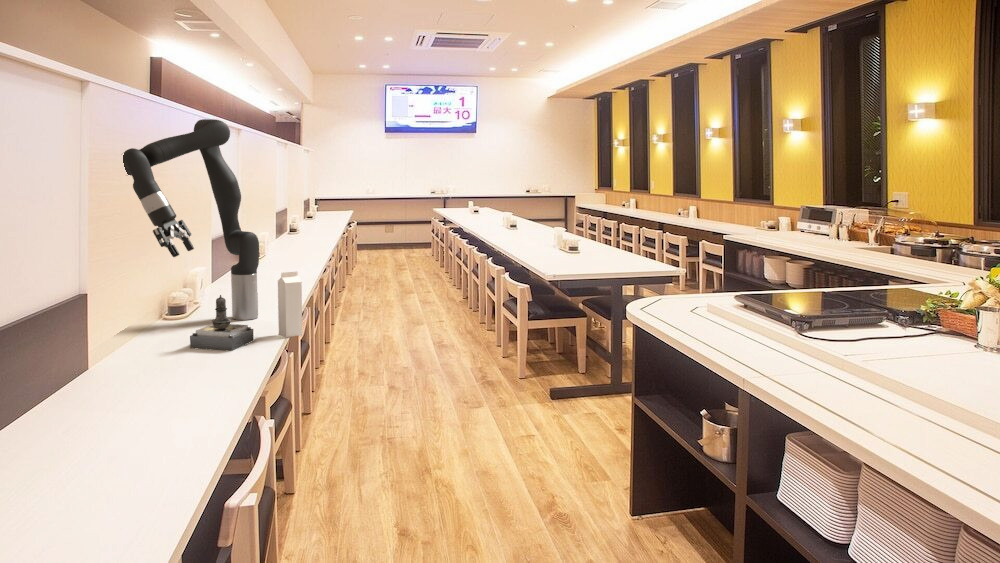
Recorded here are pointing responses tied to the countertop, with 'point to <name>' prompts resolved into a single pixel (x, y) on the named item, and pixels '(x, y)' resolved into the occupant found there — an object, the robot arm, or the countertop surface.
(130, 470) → the countertop surface
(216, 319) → the grey stone figure
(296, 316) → the milk
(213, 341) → the grey square box
